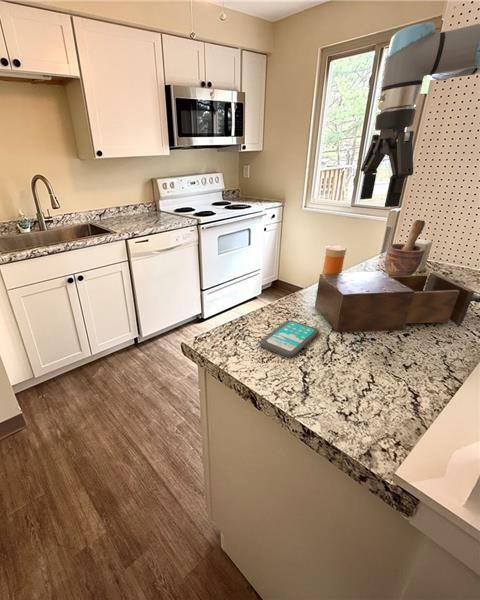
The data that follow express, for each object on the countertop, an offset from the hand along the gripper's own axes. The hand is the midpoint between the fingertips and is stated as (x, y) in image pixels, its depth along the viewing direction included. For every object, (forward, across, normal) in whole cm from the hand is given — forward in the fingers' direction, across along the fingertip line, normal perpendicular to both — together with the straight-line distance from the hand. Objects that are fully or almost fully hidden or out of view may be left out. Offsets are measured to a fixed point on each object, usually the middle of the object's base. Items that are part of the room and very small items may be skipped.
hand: (377, 202), depth 82 cm
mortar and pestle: (+28, -8, +14) cm, 33 cm away
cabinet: (+28, +13, -6) cm, 31 cm away
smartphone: (+28, +24, -25) cm, 44 cm away
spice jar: (+28, -3, -7) cm, 29 cm away
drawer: (+27, +12, +10) cm, 31 cm away
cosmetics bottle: (+28, -23, +27) cm, 45 cm away
